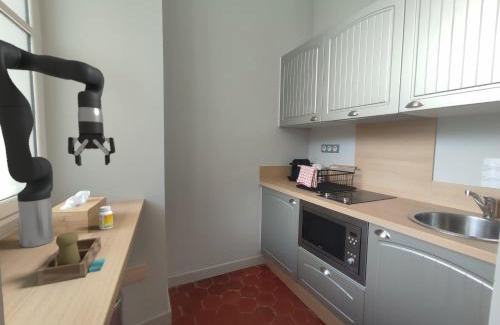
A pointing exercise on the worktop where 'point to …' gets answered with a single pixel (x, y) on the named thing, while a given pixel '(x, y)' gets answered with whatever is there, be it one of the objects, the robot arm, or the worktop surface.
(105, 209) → the supplement bottle
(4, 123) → the robot arm
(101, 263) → the wooden divided tray
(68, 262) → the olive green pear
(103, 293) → the worktop surface
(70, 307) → the worktop surface
